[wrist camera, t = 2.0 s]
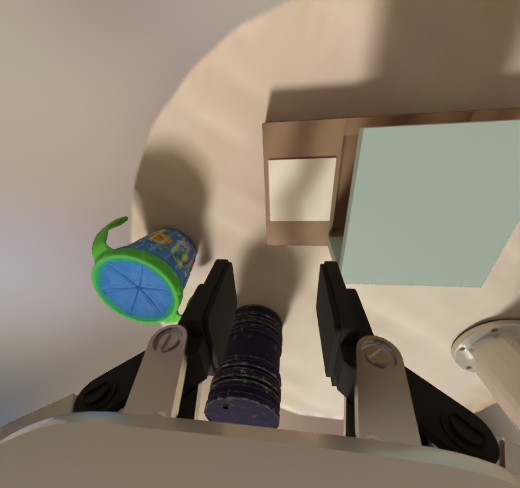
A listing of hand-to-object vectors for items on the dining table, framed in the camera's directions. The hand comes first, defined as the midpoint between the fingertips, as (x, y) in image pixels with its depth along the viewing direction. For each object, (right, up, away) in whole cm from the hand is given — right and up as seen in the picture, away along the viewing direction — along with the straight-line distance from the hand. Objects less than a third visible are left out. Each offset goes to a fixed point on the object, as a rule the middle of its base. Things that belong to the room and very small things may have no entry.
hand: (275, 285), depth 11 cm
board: (+13, +9, +15) cm, 22 cm away
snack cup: (-14, +1, +24) cm, 28 cm away
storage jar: (-1, -13, +30) cm, 33 cm away
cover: (+13, +8, +12) cm, 20 cm away
